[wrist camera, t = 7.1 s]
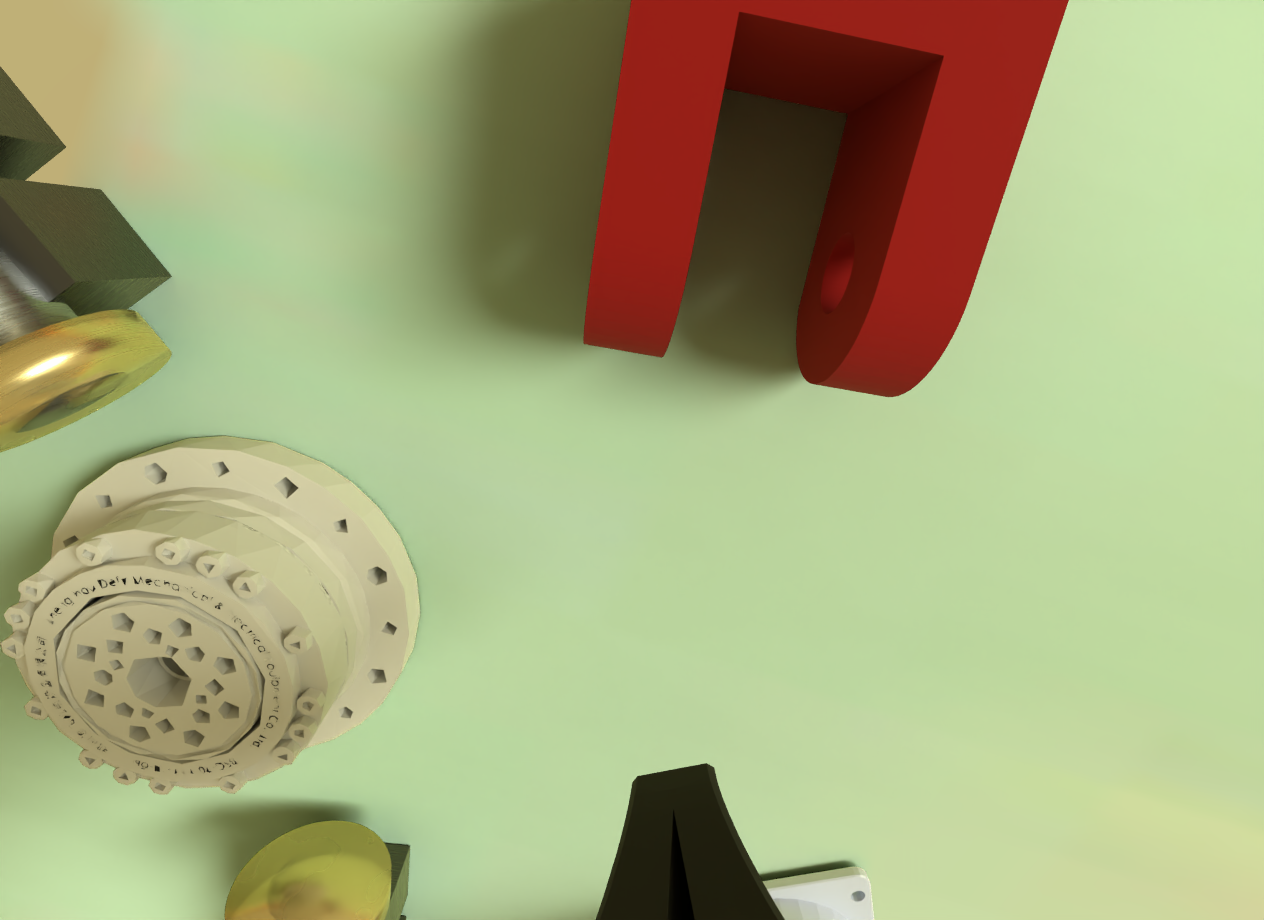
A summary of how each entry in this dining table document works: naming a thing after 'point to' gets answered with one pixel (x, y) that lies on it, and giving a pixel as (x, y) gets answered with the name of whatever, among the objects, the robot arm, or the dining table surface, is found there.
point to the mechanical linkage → (863, 174)
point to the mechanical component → (214, 614)
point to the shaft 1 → (64, 289)
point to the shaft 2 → (323, 877)
